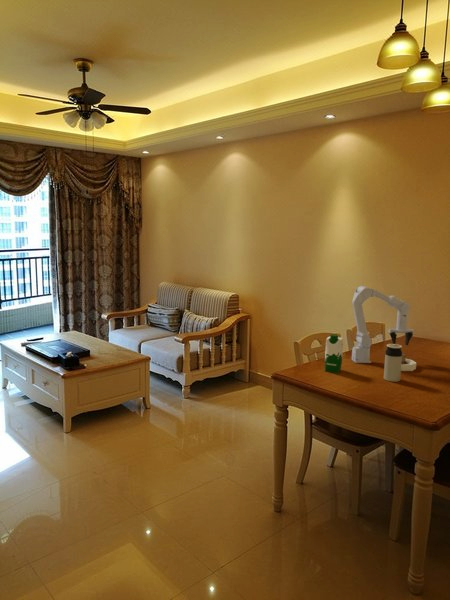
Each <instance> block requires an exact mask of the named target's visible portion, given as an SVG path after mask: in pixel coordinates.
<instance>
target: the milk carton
mask: <svg viewBox="0 0 450 600" xmlns="http://www.w3.org/2000/svg"><path fill="white" fill-rule="evenodd" d="M343 349H344V337H340V336H339V335H338V334H330V336H328V337H326V339H325V351H324V352H325V353H324V354H325V355H324V372H328V373H334V374H339V373H340V372H341V370H342V365H343V353H344V352H343Z"/></svg>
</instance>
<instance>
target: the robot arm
mask: <svg viewBox="0 0 450 600" xmlns="http://www.w3.org/2000/svg"><path fill="white" fill-rule="evenodd" d="M373 297H374V298H378V299H380V300H382V301H385V303H386V305H388V306H390V307H391V308H393V309H396V310H397V314H396V315H397V317H396V328H389V329H388V333H389V335H390V339H391V342H392V343H391V344H396V339H397V336H398V334H404V335H405V341H404V344H405V346H409V343H410V340H411V339H412V337H413V336H414V333H415V329H411V328H408V320H409V319H408V318H409V317H408V315H409V312H410V310H411V306H410V304H409V303H408V302H405V301H404V300H403V299H399V298H398V297H397V296H396V295H389V296H388V295H387V294H384V293H382V292H381V291H378V290H377V289H374V288H370V287H368V286H364V285H358V287H357V288H356V289H355V290H354V294H353V297H352V300H351V303H352V308H353V314H354V315H353V316H354V319H355V324H356V330H357V331H356V337H355V341H356V343H357V344H356V346H353V347H352V351H351V361H352V362H354V363H356V364H371V363H372V362H373V361H371V360H370V351H371V346H372V343H373V340H372V338H371V336H370V334H369V332H368V329H367V324H366V320H365V319H366V318H365V314H364V309H363V308H364V307H363V304H364V302H366V301H367V300H368V299H370V298H373Z"/></svg>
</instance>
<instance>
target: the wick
mask: <svg viewBox="0 0 450 600" xmlns="http://www.w3.org/2000/svg"><path fill="white" fill-rule="evenodd" d="M406 356H407V355H406V354H405V353H403V352H402V362H401V364H405V359H407V357H406Z"/></svg>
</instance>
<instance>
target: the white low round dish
mask: <svg viewBox="0 0 450 600" xmlns="http://www.w3.org/2000/svg"><path fill="white" fill-rule="evenodd" d="M416 369H417V362H416V361H415V360H413V359H410V358H409V359H408V358H406V359H405V364H401V372H413V371H414V370H416Z"/></svg>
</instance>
